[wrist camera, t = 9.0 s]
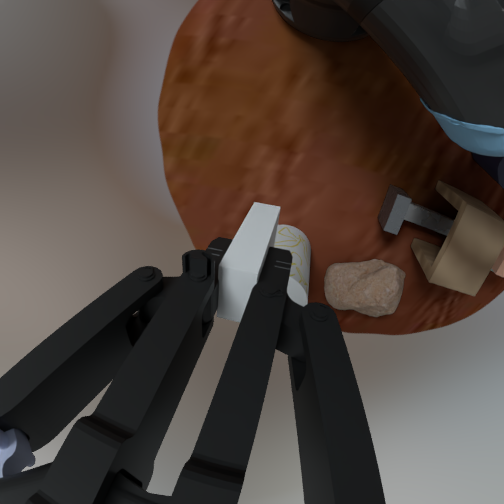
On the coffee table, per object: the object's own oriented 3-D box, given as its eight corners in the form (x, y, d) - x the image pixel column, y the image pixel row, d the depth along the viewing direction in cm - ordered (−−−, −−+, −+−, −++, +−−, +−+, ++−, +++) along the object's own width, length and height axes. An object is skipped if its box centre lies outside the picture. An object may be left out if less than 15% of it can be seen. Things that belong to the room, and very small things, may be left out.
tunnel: (438, 179, 32) (467, 203, 24) (481, 201, 31) (512, 228, 24) (410, 246, 38) (428, 282, 30) (453, 261, 37) (474, 296, 30)
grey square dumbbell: (390, 179, 33) (399, 190, 30) (513, 236, 32) (526, 250, 28) (375, 218, 37) (382, 233, 33) (498, 265, 35) (509, 280, 31)
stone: (402, 255, 41) (407, 257, 32) (404, 312, 41) (409, 327, 32) (329, 262, 47) (316, 265, 38) (333, 316, 47) (320, 332, 38)
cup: (319, 238, 41) (319, 288, 31) (297, 279, 45) (289, 333, 35) (268, 216, 41) (250, 260, 30) (249, 259, 45) (229, 310, 35)
